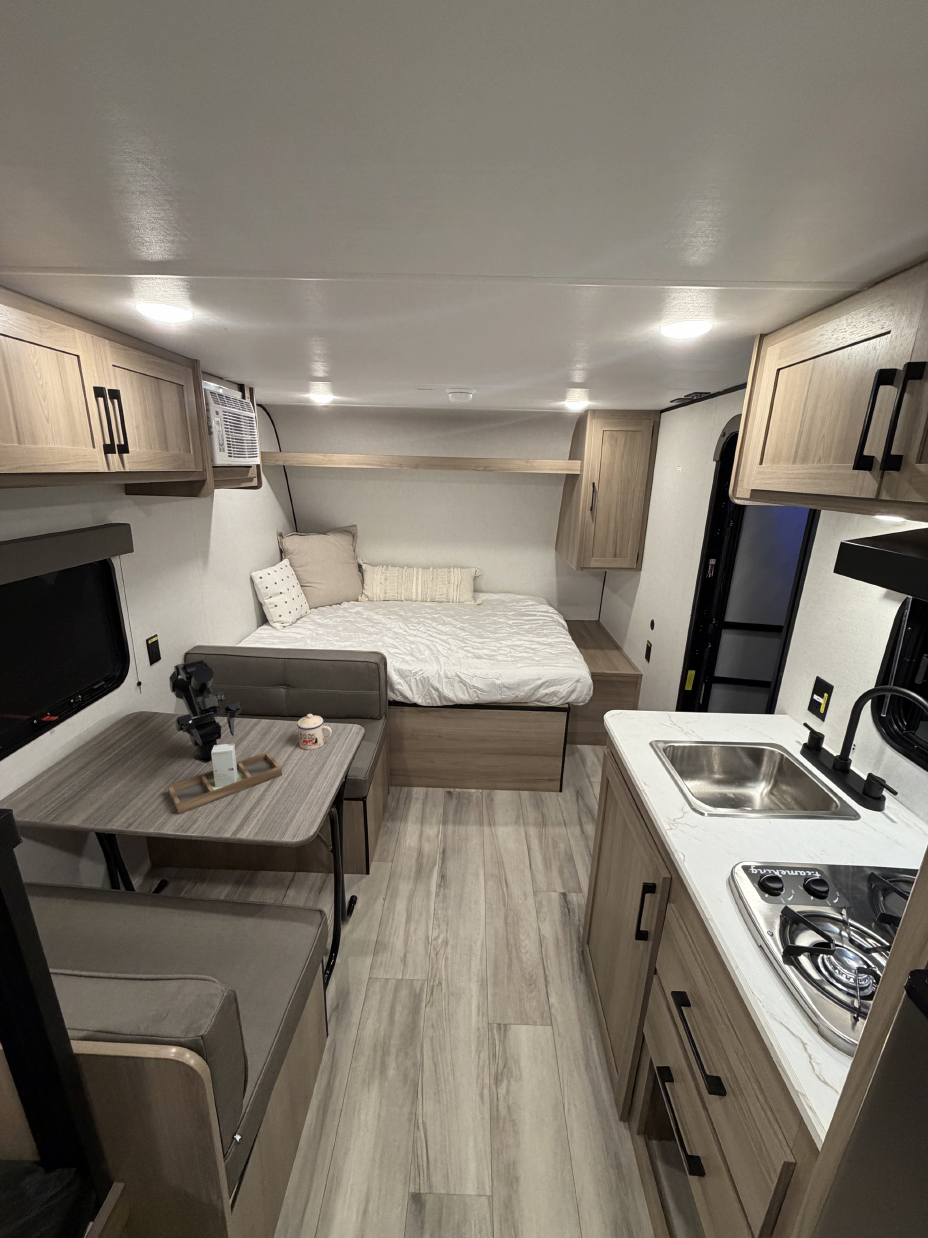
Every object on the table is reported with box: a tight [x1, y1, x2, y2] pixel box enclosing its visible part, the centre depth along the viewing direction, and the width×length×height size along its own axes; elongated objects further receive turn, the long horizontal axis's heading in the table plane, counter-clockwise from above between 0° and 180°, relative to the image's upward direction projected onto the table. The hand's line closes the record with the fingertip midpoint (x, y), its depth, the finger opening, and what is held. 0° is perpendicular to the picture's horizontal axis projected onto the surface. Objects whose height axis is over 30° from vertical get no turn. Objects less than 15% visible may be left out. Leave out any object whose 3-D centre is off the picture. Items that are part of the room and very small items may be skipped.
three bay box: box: [167, 751, 283, 815], centre depth 157 cm, size 12×30×3 cm, turn 131°
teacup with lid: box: [296, 713, 333, 751], centre depth 179 cm, size 12×9×12 cm
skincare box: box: [211, 743, 238, 786], centre depth 156 cm, size 6×4×12 cm
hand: (217, 740), depth 157 cm, fingers open, 9 cm apart
